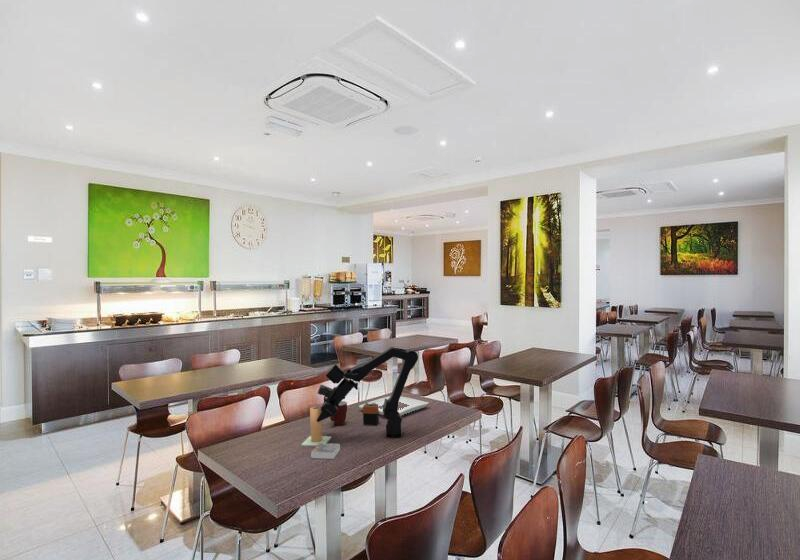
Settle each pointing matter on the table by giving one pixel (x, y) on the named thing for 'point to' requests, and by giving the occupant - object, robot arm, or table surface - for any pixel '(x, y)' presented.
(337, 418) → the mug
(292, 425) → the table surface
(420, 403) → the square plate
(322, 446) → the frame
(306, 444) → the mat
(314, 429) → the plug
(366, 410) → the battery
